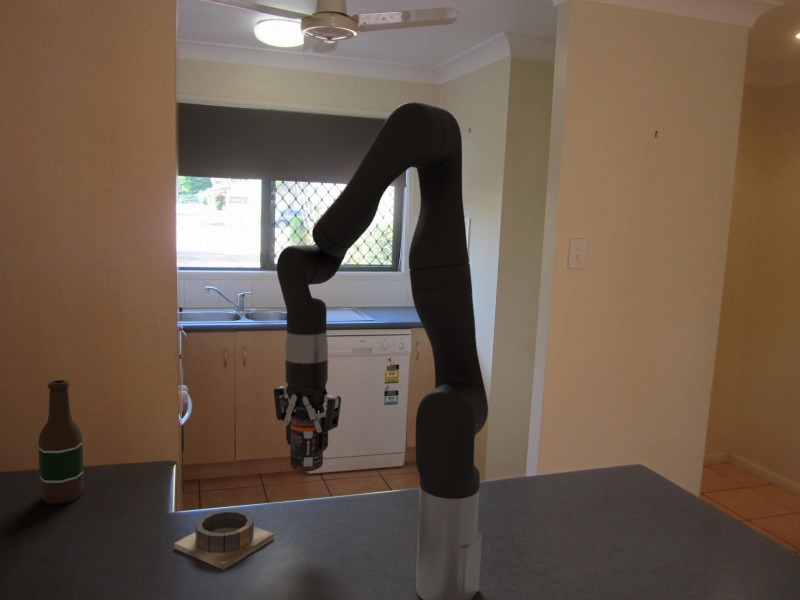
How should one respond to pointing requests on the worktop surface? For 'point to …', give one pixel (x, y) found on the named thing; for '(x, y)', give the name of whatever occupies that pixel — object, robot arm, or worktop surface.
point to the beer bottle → (60, 450)
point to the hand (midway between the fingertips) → (306, 447)
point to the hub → (224, 538)
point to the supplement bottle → (304, 442)
